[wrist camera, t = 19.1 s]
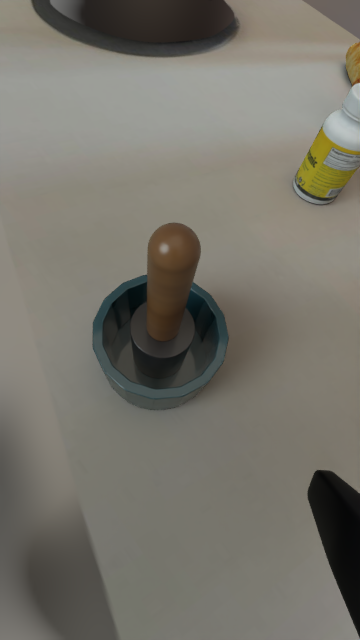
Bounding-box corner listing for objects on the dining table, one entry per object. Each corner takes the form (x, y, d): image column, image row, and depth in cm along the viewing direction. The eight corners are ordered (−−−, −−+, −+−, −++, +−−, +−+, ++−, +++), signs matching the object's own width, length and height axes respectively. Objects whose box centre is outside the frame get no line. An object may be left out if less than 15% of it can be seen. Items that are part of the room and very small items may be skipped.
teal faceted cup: (132, 432, 19) (128, 427, 14) (87, 332, 22) (72, 301, 17) (230, 377, 21) (253, 357, 17) (178, 294, 24) (186, 258, 20)
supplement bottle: (294, 169, 34) (347, 71, 25) (336, 183, 34) (404, 89, 25) (287, 196, 32) (342, 99, 23) (332, 212, 31) (405, 119, 22)
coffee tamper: (183, 380, 20) (236, 286, 9) (129, 376, 20) (108, 272, 8) (185, 331, 22) (231, 198, 10) (136, 326, 22) (126, 184, 10)
